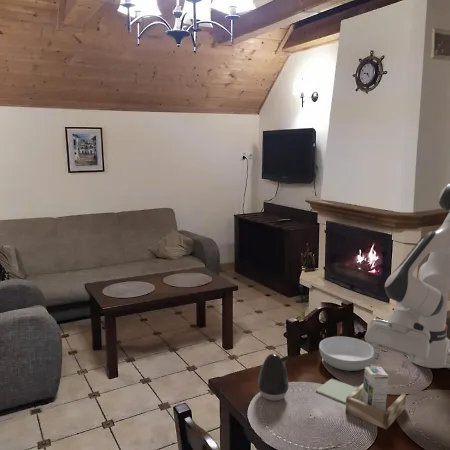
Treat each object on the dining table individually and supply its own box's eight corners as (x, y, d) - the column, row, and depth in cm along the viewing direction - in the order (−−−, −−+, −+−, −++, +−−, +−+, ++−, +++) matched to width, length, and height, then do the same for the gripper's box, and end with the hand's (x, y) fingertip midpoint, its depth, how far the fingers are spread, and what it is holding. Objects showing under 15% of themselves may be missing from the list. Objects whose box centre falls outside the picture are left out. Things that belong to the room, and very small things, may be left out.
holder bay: (365, 393, 157) (366, 380, 156) (404, 408, 148) (406, 394, 148) (345, 411, 146) (346, 397, 146) (386, 429, 138) (387, 414, 137)
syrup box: (360, 407, 149) (363, 366, 146) (378, 407, 149) (381, 365, 147) (367, 418, 143) (370, 375, 141) (385, 417, 144) (389, 374, 141)
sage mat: (331, 379, 166) (331, 378, 166) (360, 390, 159) (360, 389, 159) (315, 391, 158) (315, 390, 158) (345, 403, 151) (345, 402, 151)
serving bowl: (311, 369, 174) (312, 352, 173) (326, 348, 192) (327, 332, 191) (368, 383, 164) (369, 365, 163) (378, 359, 183) (379, 343, 181)
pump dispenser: (292, 403, 151) (294, 360, 148) (262, 406, 149) (263, 362, 146) (283, 387, 161) (284, 346, 158) (254, 389, 159) (255, 348, 156)
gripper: (370, 313, 158) (356, 348, 153) (432, 329, 145) (419, 369, 140) (374, 321, 163) (360, 356, 157) (435, 338, 150) (422, 377, 144)
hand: (389, 362), depth 148 cm, fingers open, 8 cm apart
